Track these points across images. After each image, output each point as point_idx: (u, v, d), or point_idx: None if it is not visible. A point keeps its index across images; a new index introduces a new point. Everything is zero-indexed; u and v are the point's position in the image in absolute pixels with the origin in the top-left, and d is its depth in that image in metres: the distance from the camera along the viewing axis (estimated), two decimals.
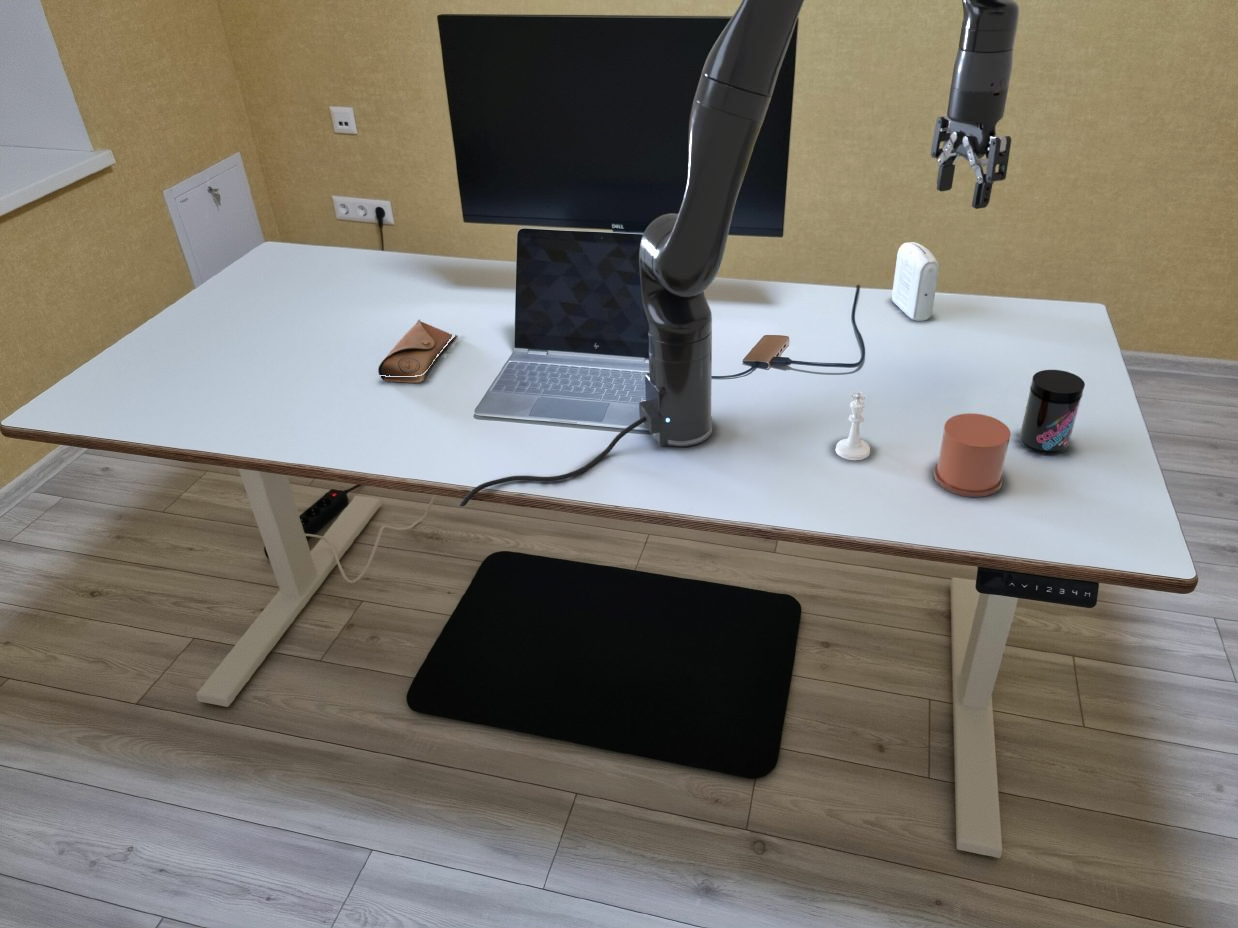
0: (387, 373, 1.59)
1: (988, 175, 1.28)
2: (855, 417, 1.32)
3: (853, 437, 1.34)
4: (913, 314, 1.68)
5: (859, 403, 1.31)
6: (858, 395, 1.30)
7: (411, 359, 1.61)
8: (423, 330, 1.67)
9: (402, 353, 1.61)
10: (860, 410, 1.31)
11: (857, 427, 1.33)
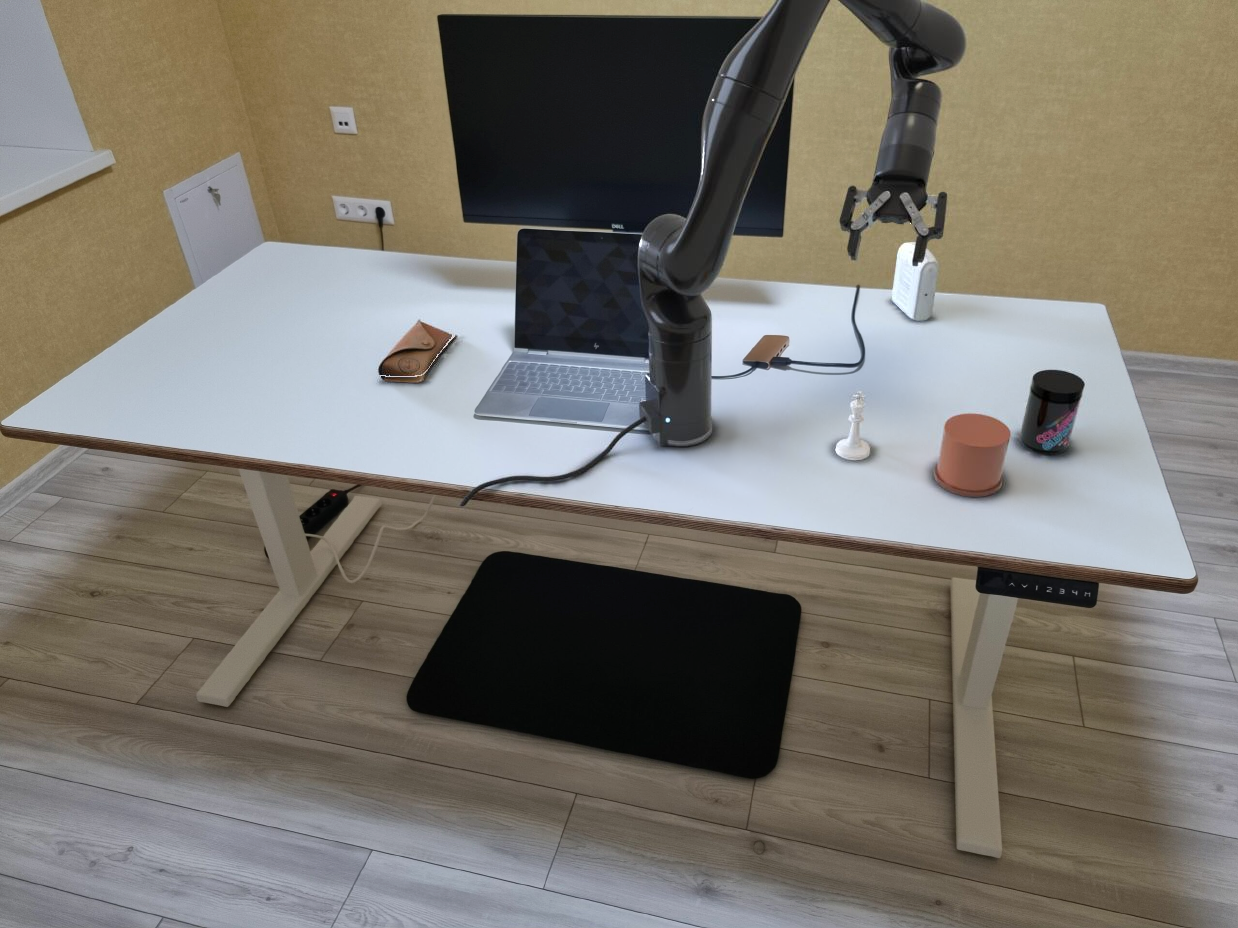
0: (387, 373, 1.59)
1: (938, 225, 1.28)
2: (855, 417, 1.32)
3: (853, 437, 1.34)
4: (913, 314, 1.68)
5: (859, 403, 1.31)
6: (858, 395, 1.30)
7: (411, 359, 1.61)
8: (423, 330, 1.67)
9: (402, 353, 1.61)
10: (860, 410, 1.31)
11: (857, 427, 1.33)
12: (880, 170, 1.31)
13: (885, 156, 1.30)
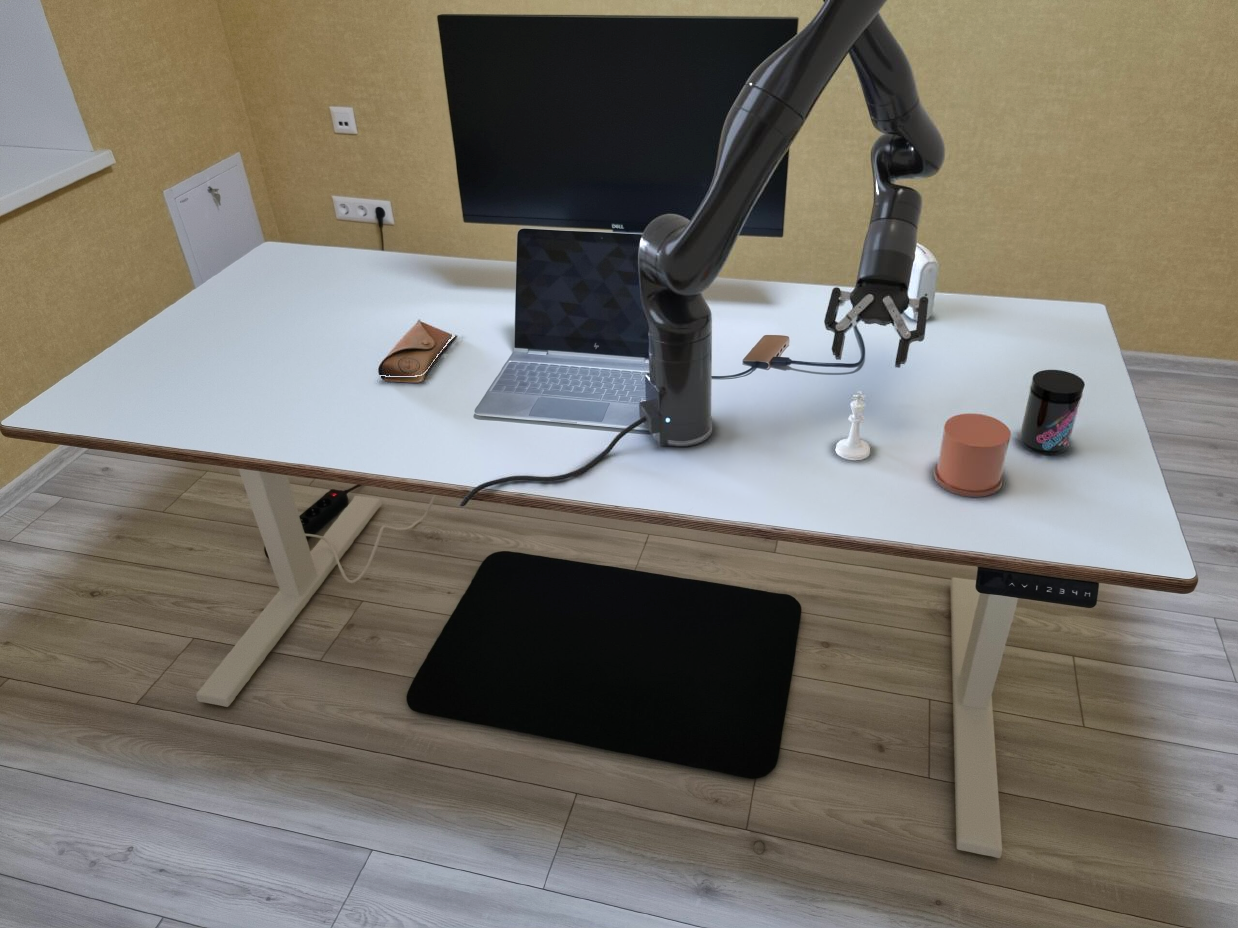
0: (387, 373, 1.59)
1: (920, 329, 1.32)
2: (855, 417, 1.32)
3: (853, 437, 1.34)
4: (913, 314, 1.68)
5: (859, 403, 1.31)
6: (858, 395, 1.30)
7: (411, 359, 1.61)
8: (423, 330, 1.67)
9: (402, 353, 1.61)
10: (860, 410, 1.31)
11: (857, 427, 1.33)
12: (863, 274, 1.34)
13: (868, 260, 1.34)
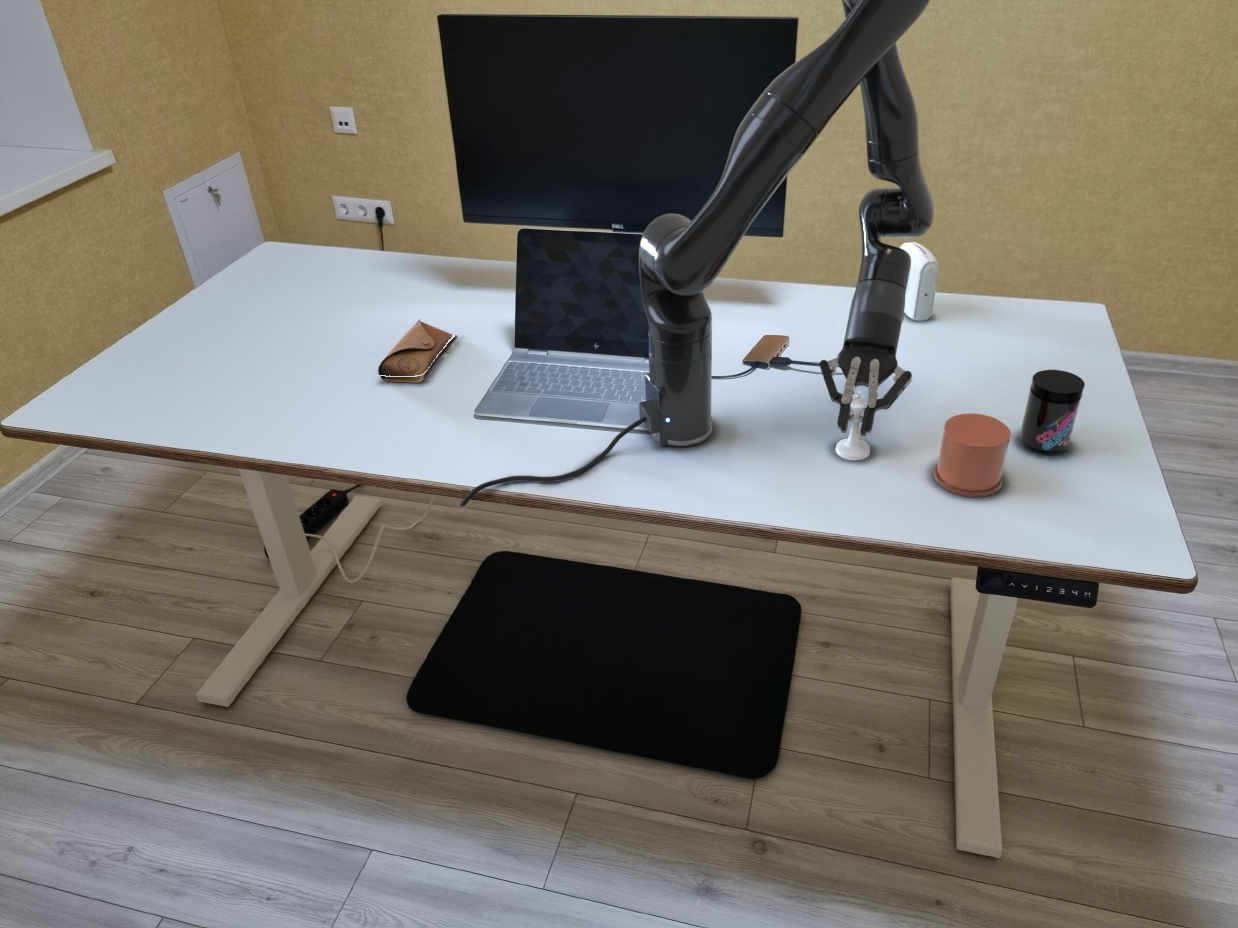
0: (387, 373, 1.59)
1: (886, 398, 1.30)
2: (855, 417, 1.32)
3: (853, 437, 1.34)
4: (913, 314, 1.68)
5: (859, 403, 1.31)
6: (858, 395, 1.30)
7: (411, 359, 1.61)
8: (423, 330, 1.67)
9: (402, 353, 1.61)
10: (860, 410, 1.31)
11: (857, 427, 1.33)
12: (851, 336, 1.32)
13: (855, 322, 1.32)
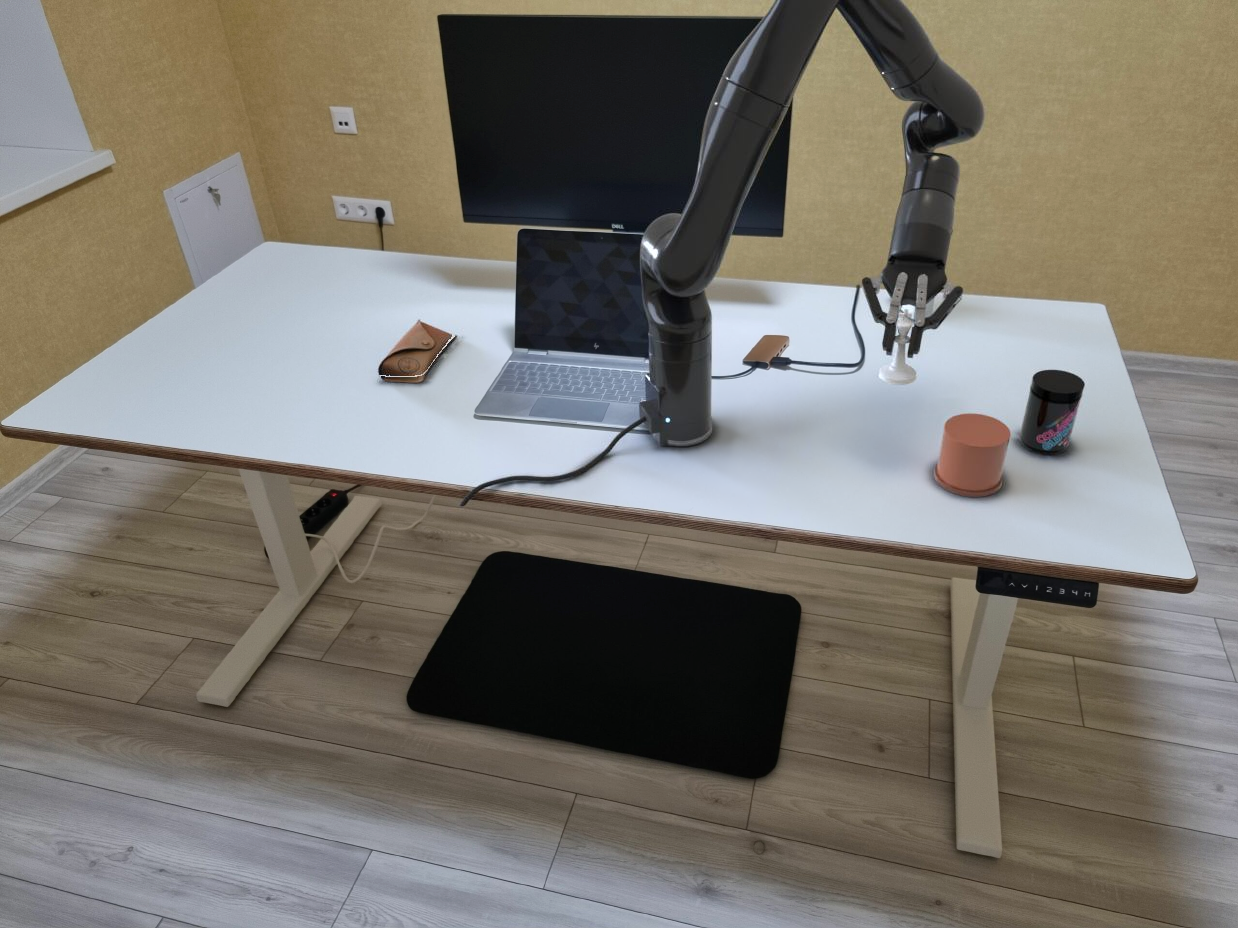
0: (386, 373, 1.59)
1: (936, 316, 1.20)
2: (901, 338, 1.22)
3: (898, 360, 1.24)
4: (913, 314, 1.68)
5: (906, 322, 1.21)
6: (905, 313, 1.21)
7: (411, 359, 1.61)
8: (423, 330, 1.67)
9: (402, 353, 1.61)
10: (907, 329, 1.21)
11: (903, 349, 1.23)
12: (896, 250, 1.22)
13: (901, 235, 1.22)
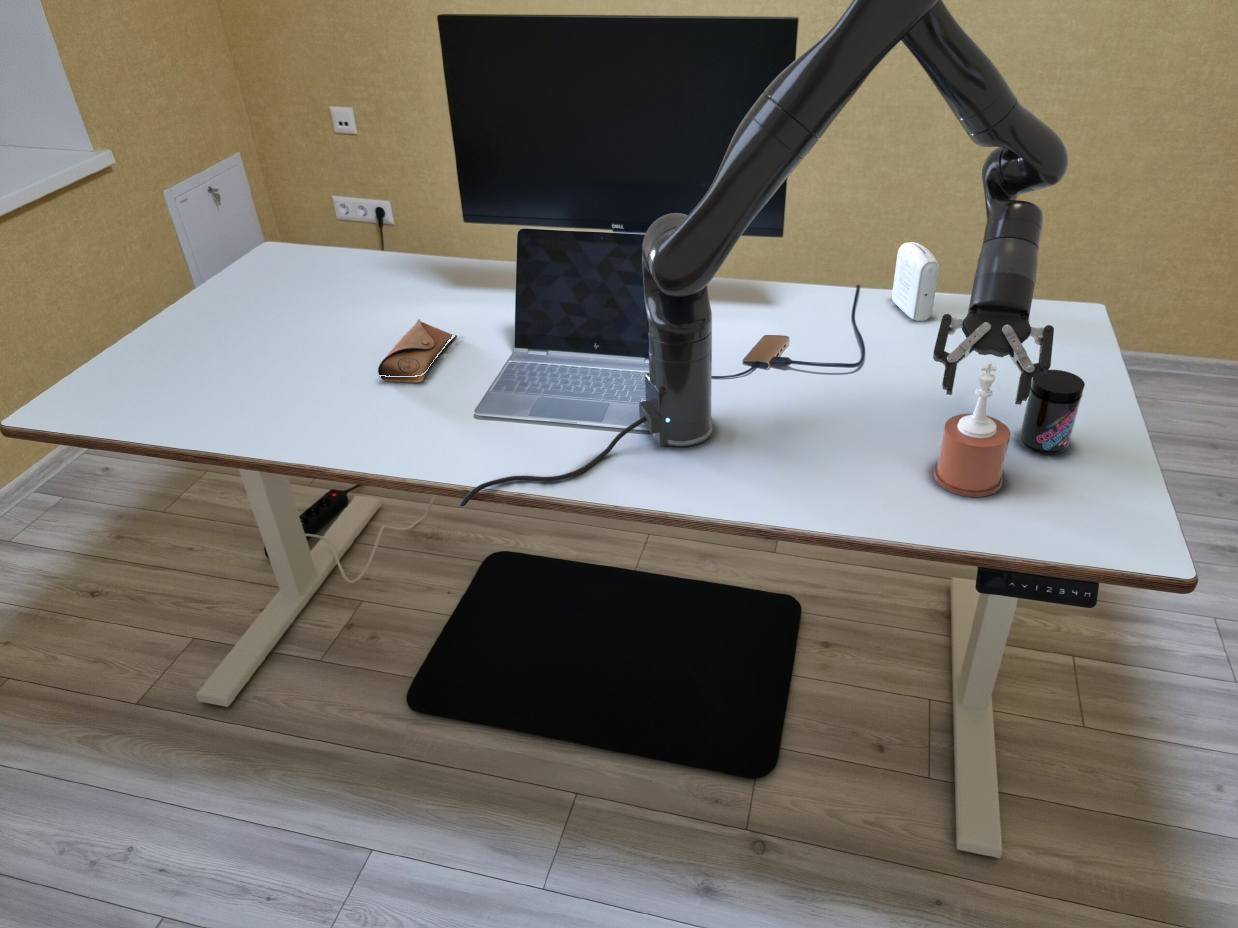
0: (386, 373, 1.59)
1: (1045, 362, 1.18)
2: (983, 391, 1.21)
3: (979, 413, 1.22)
4: (913, 314, 1.68)
5: (989, 375, 1.19)
6: (988, 366, 1.19)
7: (411, 359, 1.61)
8: (423, 330, 1.67)
9: (402, 353, 1.61)
10: (990, 383, 1.19)
11: (984, 402, 1.21)
12: (979, 299, 1.20)
13: (985, 284, 1.20)
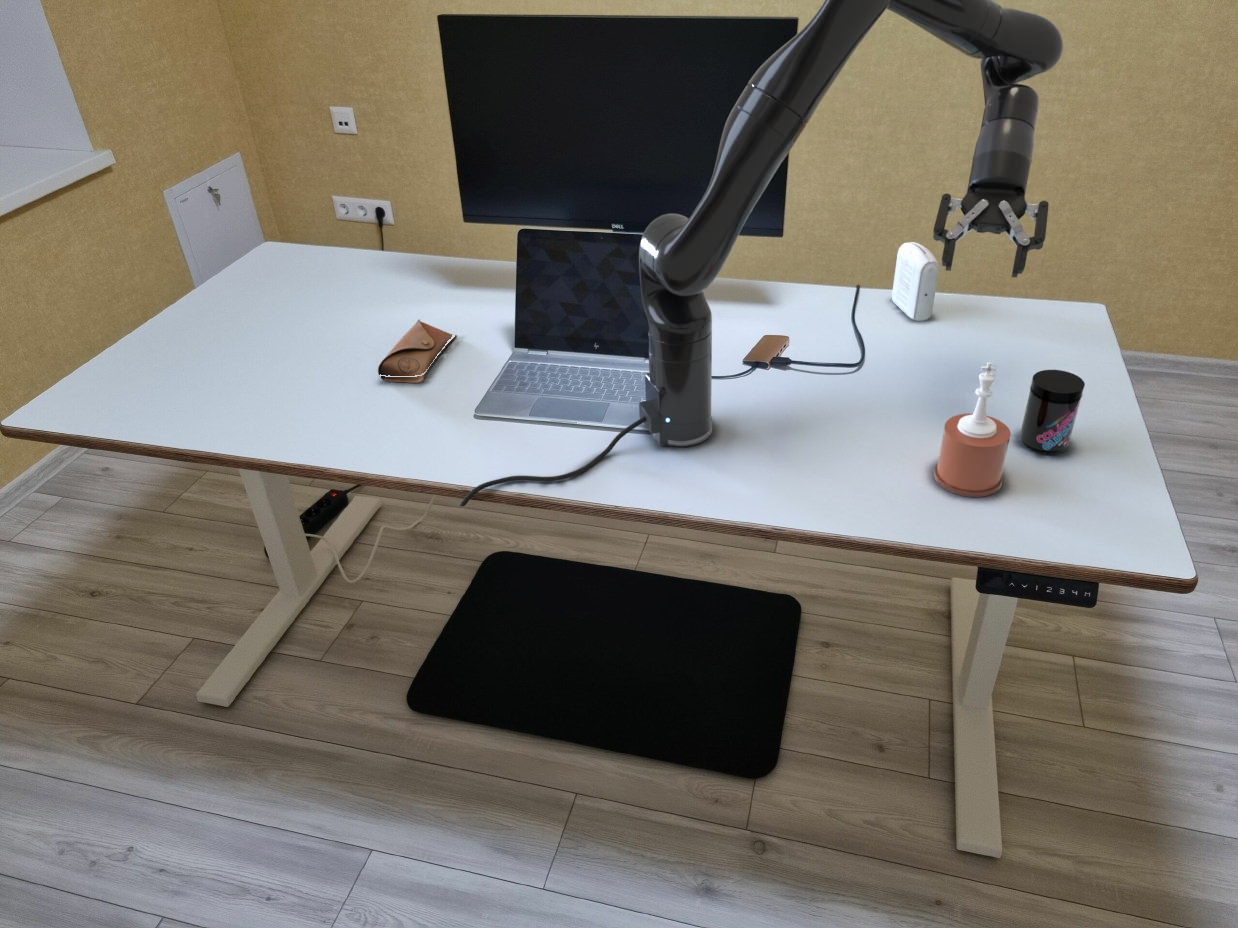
0: (386, 373, 1.59)
1: (1040, 235, 1.23)
2: (983, 391, 1.21)
3: (979, 413, 1.22)
4: (913, 314, 1.68)
5: (989, 375, 1.19)
6: (988, 366, 1.19)
7: (411, 359, 1.61)
8: (423, 330, 1.67)
9: (402, 353, 1.61)
10: (990, 383, 1.19)
11: (984, 402, 1.21)
12: (977, 177, 1.26)
13: (983, 163, 1.25)
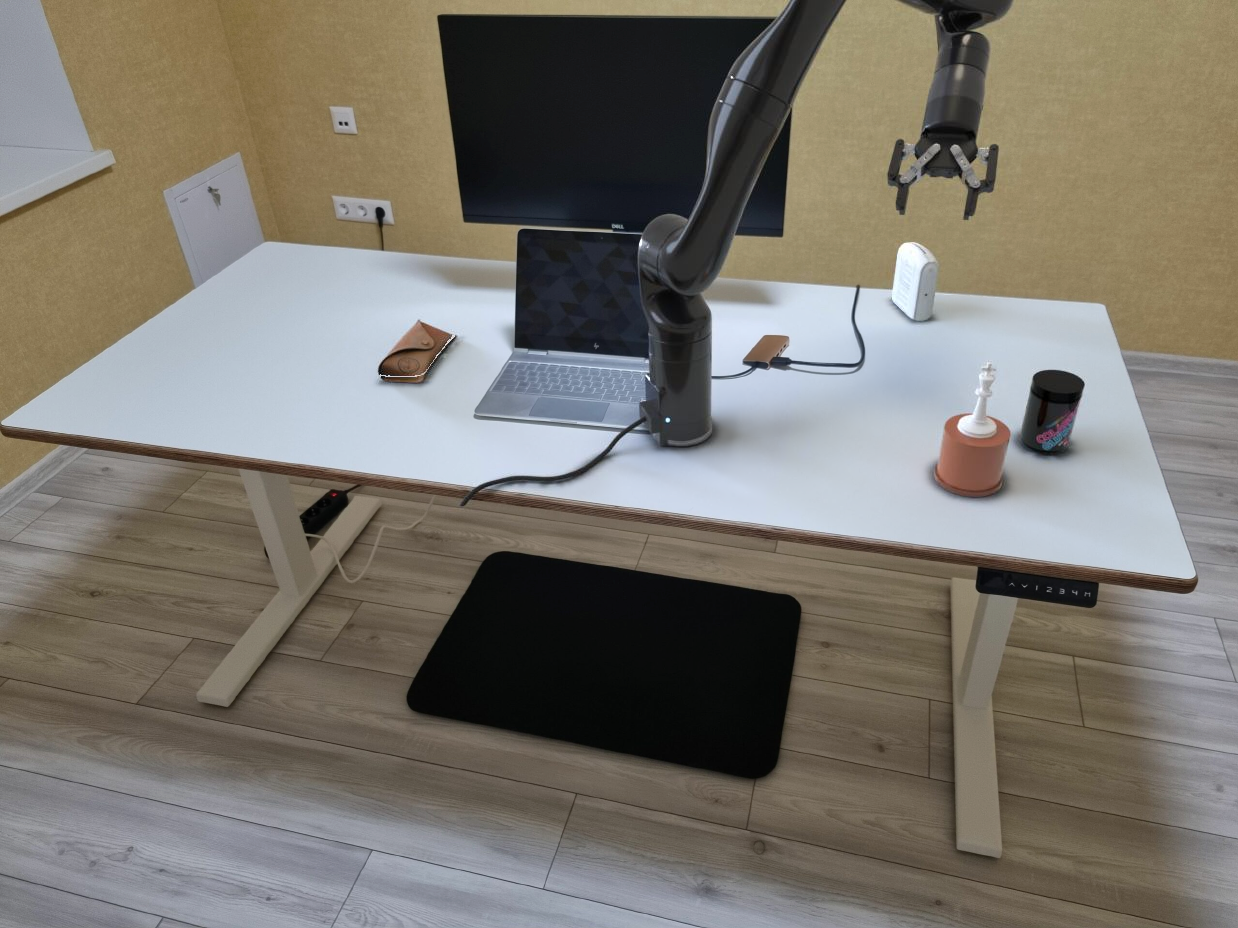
0: (386, 373, 1.59)
1: (990, 177, 1.25)
2: (983, 391, 1.21)
3: (979, 413, 1.22)
4: (913, 314, 1.68)
5: (989, 375, 1.19)
6: (988, 366, 1.19)
7: (411, 359, 1.61)
8: (423, 330, 1.67)
9: (402, 353, 1.61)
10: (990, 383, 1.19)
11: (984, 402, 1.21)
12: (930, 122, 1.28)
13: (935, 108, 1.28)
